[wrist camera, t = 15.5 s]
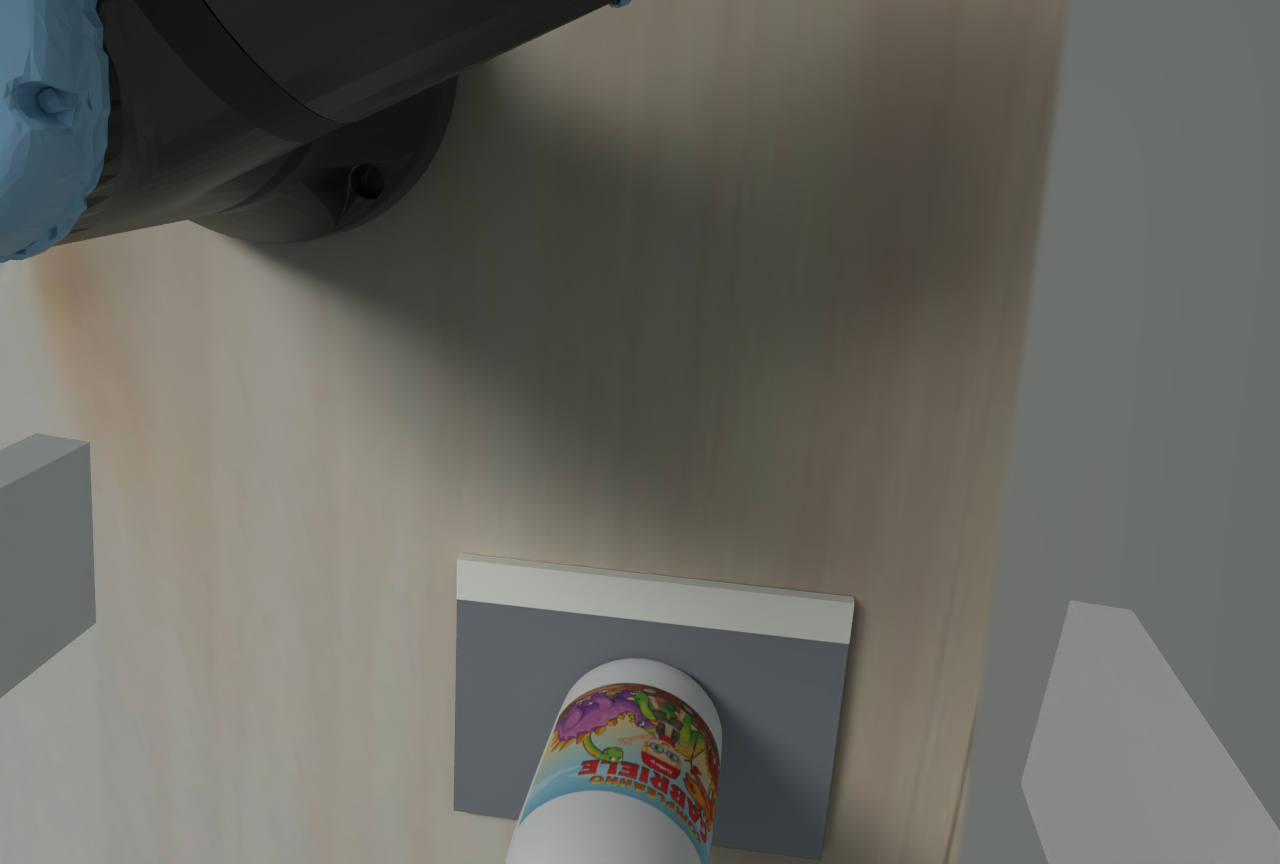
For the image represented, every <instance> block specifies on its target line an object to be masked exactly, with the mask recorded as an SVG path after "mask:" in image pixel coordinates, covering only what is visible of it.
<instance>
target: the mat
mask: <svg viewBox="0 0 1280 864" xmlns="http://www.w3.org/2000/svg"><path fill="white" fill-rule="evenodd" d="M854 604H855V603H854V597H851V596H842V595H833V594H824V593H815V592H806V591H797V590H788V589H779V588H770V587H761V586H752V585H743V584H734V583H725V582H715V581H706V580H697V579H688V578H679V577H670V576H661V575H652V574H643V573H634V572H625V571H616V570H607V569H598V568H588V567H579V566H570V565H561V564H552V563H543V562H534V561H525V560H516V559H507V558H498V557H489V556H480V555H471V554H461V555H460V556H459V558H458V559H457V639H456V702H455V765H454V811H461V812H468V813H476V814H483V815H491V816H498V817H505V818H513V819H519V816H520V813H521V811H522V808H523V805H524V802H525V800H526V797H527V794H528V792H529V789H530V786H531V783H532V781H533V778H534V775H535V773H536V770H537V768H538V765H539V762H540V760H541V757H542V755H543V752H544V749H545V747H546V744H547V742H548V739H549V736H550V734H551V731H552V729H553V726H554V724H555V721H556V718H557V716H558V713H559V711H560V709H561V707H562V705H563V702H564V700H565V698H566V696H567V694H568V693H569V691H570V690H571V688H572V687H573V686H574V684H575V683H576V682H577V681H578V680H579V679H580V678H581V677H583V676H584V675H585V674H587V673H588V672H589V671H591V670H593V669H595V668H596V667H598V666H601V665H603V664H606V663H609V662H612V661H614V660H622V659H627V658H646V659H650V660H656V661H661V662H663V663H665V664H668V665H671V666H674V667H676V668H677V669H679V670H680V671H682V672H684V673H685V674H687V675H689V676H690V677H691V678H692V679H693V680H694V681H695V682H696V683H698V684H699V685H700V686H701V688H702V689H703V690H704V691H705V692H706V694H707V695H708V696H709V698H710V699H711V701H712V703H713V704H714V706H715V708H716V711H717V713H718V716H719V719H720V723H721V728H722V753H721V763H720V773H719V782H718V791H717V800H716V809H715V818H714V827H713V835H712V843H711V845H713V846H720V847H728V848H735V849H743V850H750V851H758V852H765V853H772V854H780V855H787V856H795V857H802V858H809V859H817V860H821V855H822V847H823V840H824V832H825V824H826V817H827V809H828V801H829V794H830V786H831V778H832V771H833V763H834V755H835V748H836V740H837V732H838V725H839V717H840V709H841V702H842V694H843V686H844V679H845V671H846V663H847V656H848V648H849V642H850V635H851V627H852V619H853V612H854Z"/></svg>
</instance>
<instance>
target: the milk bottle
mask: <svg viewBox="0 0 1280 864" xmlns="http://www.w3.org/2000/svg"><path fill="white" fill-rule="evenodd" d="M721 753H722V728H721V723H720V719H719V716H718V713H717V711H716V708H715V706H714V704H713V703H712V701H711V699H710V698H709V696H708V695H707V694H706V692H705V691H704V690H703V689H702V688H701V686H700V685H699V684H698V683H696V682H695V681H694V680H693V679H692V678H691V677H690V676H689V675H687V674H685V673H684V672H682V671H680V670H679V669H677V668H676V667H674V666H671V665H668V664H665V663H663V662H661V661H656V660H650V659H646V658H627V659H622V660H614V661H612V662H609V663H606V664H603V665H601V666H598V667H596V668H595V669H593V670H591V671H589V672H588V673H587V674H585V675H584V676H583V677H581V678H580V679H579V680H578V681H577V682H576V683H575V684H574V686H573V687H572V688H571V690H570V691H569V693H568V694H567V696H566V698H565V700H564V702H563V705H562V707H561V709H560V711H559V713H558V716H557V718H556V721H555V724H554V726H553V729H552V731H551V734H550V736H549V739H548V742H547V744H546V747H545V749H544V752H543V755H542V757H541V760H540V762H539V765H538V768H537V770H536V773H535V775H534V778H533V781H532V783H531V786H530V789H529V792H528V794H527V797H526V800H525V802H524V805H523V808H522V811H521V813H520V816H519V819H518V821H517V824H516V828H515V831H514V834H513V837H512V840H511V843H510V847H509V850H508V853H507V856H506V860H505V864H709V859H710V851H711V843H712V835H713V827H714V818H715V809H716V800H717V791H718V782H719V773H720V763H721Z"/></svg>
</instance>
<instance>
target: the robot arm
mask: <svg viewBox="0 0 1280 864" xmlns="http://www.w3.org/2000/svg"><path fill="white" fill-rule="evenodd" d="M630 1H631V0H0V263H3V262H6V261H8V260H23V259H26V258H29V257H32V256H35V255H38V254H40V253H42V252H45V251H46V250H48V249H49V248H50V247H52V246H57V245H62V244H67V243H72V242H77V241H82V240H87V239H92V238H97V237H102V236H108V235H113V234H118V233H123V232H128V231H133V230H138V229H143V228H148V227H153V226H158V225H163V224H168V223H173V222H178V221H183V220H190V221H192V222H194V223H196V224H199V225H201V226H203V227H205V228H208V229H210V230H212V231H215V232H218V233H221V234H224V235H227V236H231V237H234V238H239V239H244V240H249V241H256V242H265V243H294V242H302V241H309V240H314V239H318V238H322V237H326V236H329V235H333V234H336V233H340V232H343V231H347V230H349V229H352V228H354V227H357V226H359V225H361V224H364V223H366V222H368V221H370V220H371V219H373V218H375V217H377V216H378V215H380V214H381V213H383V212H384V211H386V210H387V209H389V208H390V207H391V206H393V205H394V204H395V203H396V202H397V201H399V200H400V199H401V198H402V197H403V196H404V195H405V194H406V193H407V192H408V191H409V190H410V189H411V188H412V187H413V185H414V184H415V183H416V182H417V181H418V180H419V178H420V177H421V176H422V174H423V173H424V172H425V170H426V169H427V167H428V165H429V164H430V162H431V161H432V159H433V157H434V155H435V153H436V151H437V150H438V148H439V146H440V143H441V141H442V139H443V136H444V134H445V131H446V128H447V125H448V122H449V119H450V115H451V111H452V108H453V102H454V97H455V91H456V82H457V75H458V74H460V73H462V72H464V71H466V70H469V69H471V68H473V67H475V66H477V65H479V64H481V63H484V62H486V61H488V60H490V59H492V58H494V57H496V56H499V55H501V54H503V53H505V52H507V51H509V50H511V49H513V48H516V47H518V46H520V45H522V44H524V43H526V42H528V41H531V40H533V39H535V38H537V37H539V36H541V35H543V34H546V33H548V32H550V31H552V30H554V29H556V28H558V27H561V26H563V25H565V24H567V23H569V22H571V21H573V20H576V19H578V18H580V17H582V16H584V15H586V14H588V13H591V12H593V11H595V10H597V9H599V8H601V7H603V6H606V5H608V4H609V5H610V6H611V7H612V8H619V7H622V6H625V5H627V4H629V3H630ZM95 623H96V610H95V582H94V554H93V526H92V497H91V469H90V442H86V441H80V440H73V439H67V438H61V437H55V436H49V435H42V434H34V435H32V436H30V437H28V438H26V439H24V440H22V441H19V442H17V443H15V444H13V445H11V446H9V447H7V448H5V449H2V450H0V698H1V697H2V696H3V695H5V694H6V693H7V692H9V691H10V690H11V689H12V688H14V687H15V686H16V685H17V684H19V683H20V682H21V681H22V680H24V679H25V678H26V677H28V676H29V675H30V674H31V673H33V672H34V671H35V670H36V669H38V668H39V667H40V666H41V665H43V664H44V663H45V662H47V661H48V660H49V659H50V658H52V657H53V656H54V655H55V654H57V653H58V652H59V651H60V650H62V649H63V648H64V647H66V646H67V645H68V644H69V643H71V642H72V641H73V640H74V639H76V638H77V637H78V636H80V635H81V634H82V633H83V632H85V631H86V630H87V629H88V628H90V627H91V626H92V625H93V624H95ZM1021 786H1022V789H1023V792H1024V794H1025V797H1026V800H1027V803H1028V806H1029V809H1030V812H1031V815H1032V817H1033V820H1034V823H1035V827H1036V829H1037V832H1038V835H1039V838H1040V841H1041V844H1042V847H1043V850H1044V853H1045V856H1046V858H1047V861H1048V864H1280V831H1279V829H1278V828H1277V826H1276V825H1275V823H1274V822H1273V820H1272V819H1271V817H1270V816H1269V814H1268V813H1267V811H1266V810H1265V808H1264V807H1263V805H1262V804H1261V802H1260V801H1259V799H1258V798H1257V796H1256V795H1255V793H1254V792H1253V790H1252V789H1251V787H1250V786H1249V784H1248V783H1247V781H1246V780H1245V778H1244V777H1243V775H1242V774H1241V773H1240V771H1239V769H1238V768H1237V766H1236V765H1235V763H1234V762H1233V761H1232V759H1231V757H1230V756H1229V754H1228V753H1227V751H1226V750H1225V749H1224V747H1223V746H1222V744H1221V743H1220V741H1219V740H1218V738H1217V737H1216V735H1215V734H1214V732H1213V731H1212V729H1211V728H1210V726H1209V725H1208V723H1207V722H1206V720H1205V719H1204V717H1203V716H1202V714H1201V713H1200V711H1199V710H1198V708H1197V707H1196V705H1195V704H1194V702H1193V701H1192V699H1191V698H1190V696H1189V695H1188V693H1187V692H1186V690H1185V689H1184V687H1183V686H1182V684H1181V683H1180V681H1179V680H1178V678H1177V677H1176V675H1175V674H1174V672H1173V671H1172V669H1171V668H1170V666H1169V665H1168V663H1167V662H1166V660H1165V659H1164V657H1163V656H1162V655H1161V653H1160V651H1159V650H1158V648H1157V647H1156V645H1155V644H1154V643H1153V641H1152V640H1151V638H1150V637H1149V635H1148V633H1147V632H1146V630H1145V629H1144V628H1143V626H1142V624H1141V623H1140V621H1139V620H1138V619H1137V617H1136V616H1135V614H1134V613H1133V611H1132V610H1128V609H1121V608H1115V607H1109V606H1103V605H1096V604H1091V603H1084V602H1078V601H1072V600H1070V603H1069V607H1068V611H1067V615H1066V618H1065V622H1064V626H1063V629H1062V633H1061V637H1060V640H1059V645H1058V648H1057V652H1056V655H1055V659H1054V663H1053V666H1052V670H1051V674H1050V677H1049V681H1048V685H1047V688H1046V692H1045V696H1044V699H1043V703H1042V707H1041V711H1040V714H1039V718H1038V722H1037V726H1036V729H1035V733H1034V736H1033V740H1032V744H1031V748H1030V751H1029V755H1028V759H1027V762H1026V766H1025V770H1024V774H1023V777H1022V781H1021Z"/></svg>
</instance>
